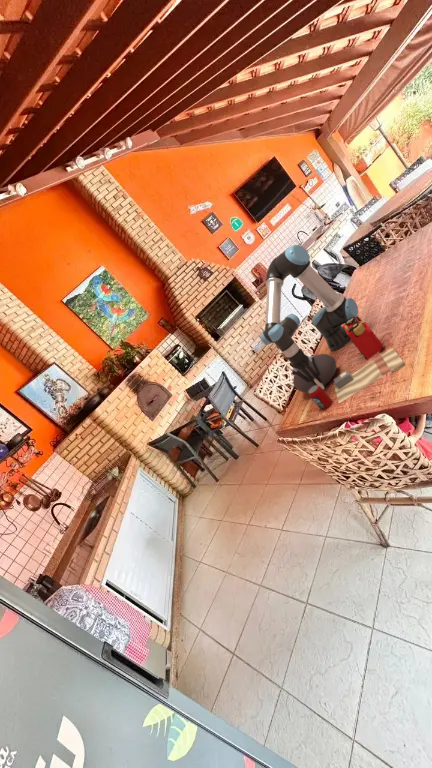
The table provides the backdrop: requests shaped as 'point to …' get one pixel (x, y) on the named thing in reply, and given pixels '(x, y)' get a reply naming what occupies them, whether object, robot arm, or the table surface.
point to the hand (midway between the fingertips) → (322, 388)
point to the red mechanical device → (362, 337)
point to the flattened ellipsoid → (325, 367)
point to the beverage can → (320, 397)
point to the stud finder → (343, 379)
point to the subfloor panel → (370, 374)
